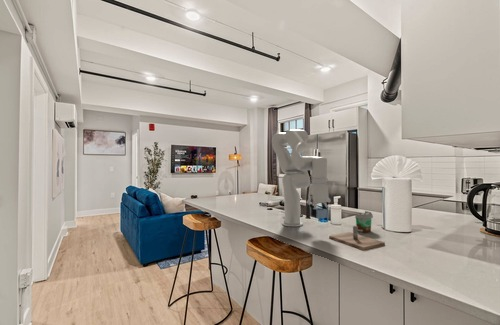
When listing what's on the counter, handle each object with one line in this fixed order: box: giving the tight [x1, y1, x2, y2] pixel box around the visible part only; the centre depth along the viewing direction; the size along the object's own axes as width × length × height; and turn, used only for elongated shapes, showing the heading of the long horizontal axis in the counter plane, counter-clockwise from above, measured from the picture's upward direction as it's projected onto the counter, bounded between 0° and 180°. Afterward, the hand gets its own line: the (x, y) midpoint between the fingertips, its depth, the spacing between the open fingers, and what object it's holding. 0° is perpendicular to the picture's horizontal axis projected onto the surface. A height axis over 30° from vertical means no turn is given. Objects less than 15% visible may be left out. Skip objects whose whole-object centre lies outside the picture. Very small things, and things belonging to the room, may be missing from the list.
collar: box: [309, 206, 328, 220], centre depth 127 cm, size 6×6×4 cm
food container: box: [354, 210, 374, 234], centre depth 133 cm, size 12×6×10 cm, turn 131°
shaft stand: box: [328, 225, 386, 251], centre depth 117 cm, size 20×14×7 cm
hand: (318, 215), depth 127 cm, fingers closed on collar, 6 cm apart
